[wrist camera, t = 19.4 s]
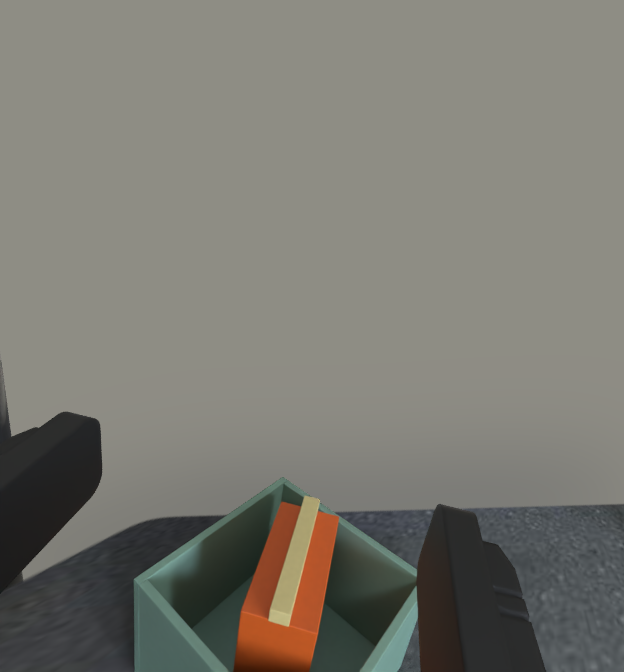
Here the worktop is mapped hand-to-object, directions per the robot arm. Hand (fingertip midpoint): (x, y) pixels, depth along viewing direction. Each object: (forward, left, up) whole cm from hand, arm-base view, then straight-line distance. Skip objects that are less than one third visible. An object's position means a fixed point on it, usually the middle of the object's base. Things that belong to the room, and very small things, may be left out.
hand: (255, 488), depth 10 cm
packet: (-6, +12, -28) cm, 31 cm away
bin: (-6, +12, -28) cm, 31 cm away
